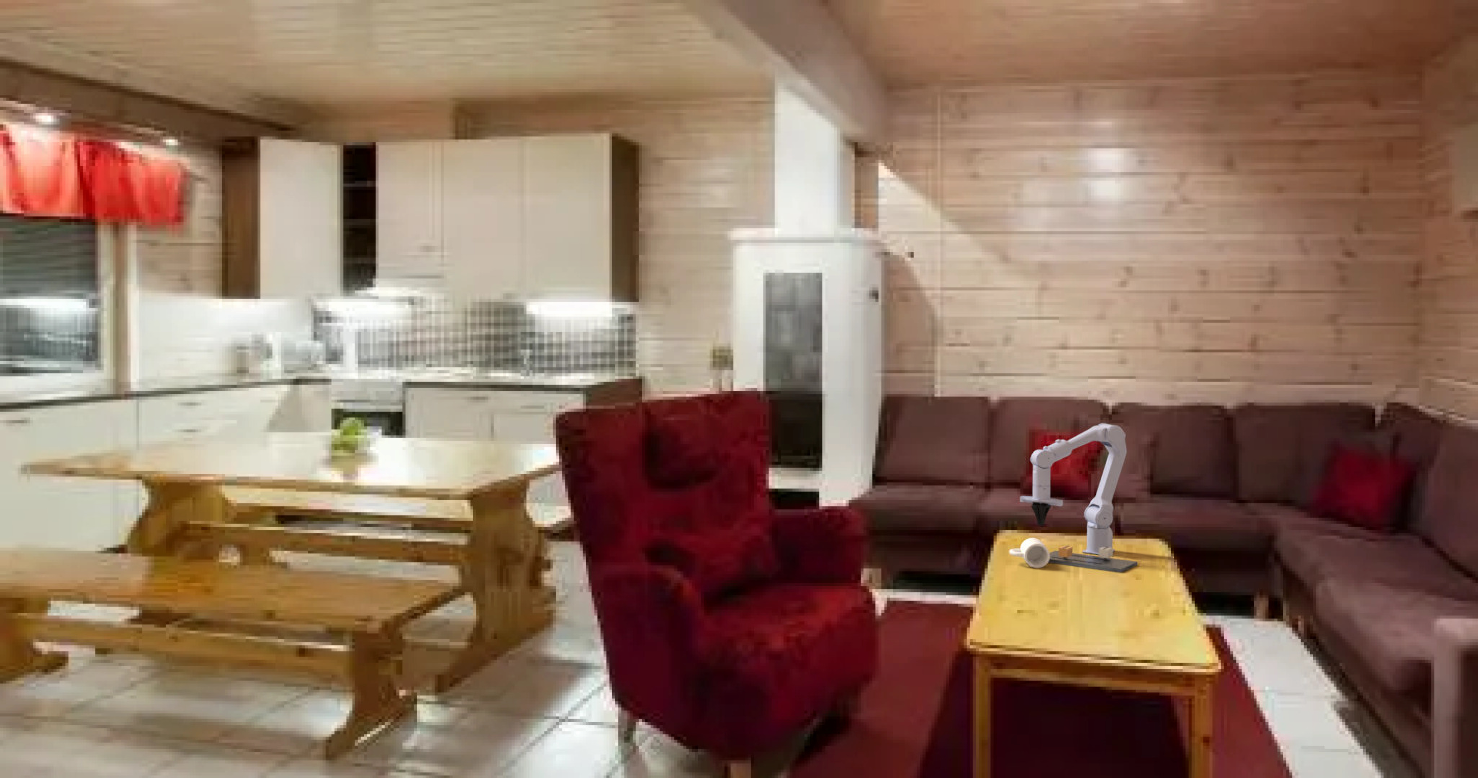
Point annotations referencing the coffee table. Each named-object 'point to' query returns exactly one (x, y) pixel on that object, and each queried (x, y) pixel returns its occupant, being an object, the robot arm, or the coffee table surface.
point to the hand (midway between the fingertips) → (1040, 525)
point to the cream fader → (1105, 552)
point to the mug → (1032, 552)
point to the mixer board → (1092, 562)
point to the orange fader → (1065, 551)
